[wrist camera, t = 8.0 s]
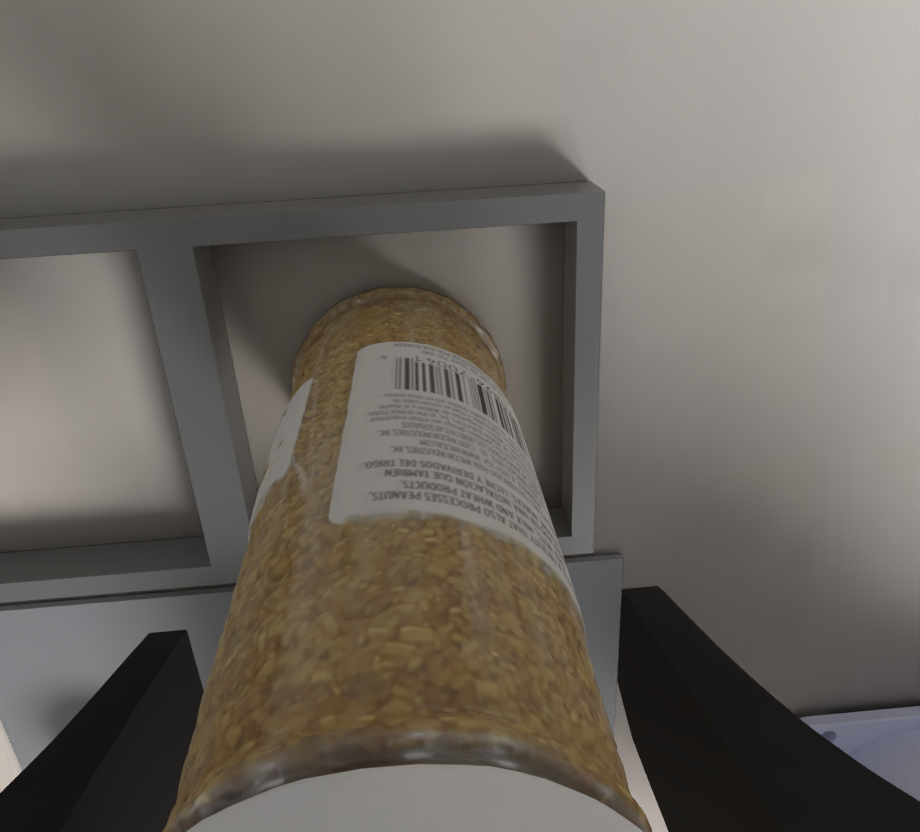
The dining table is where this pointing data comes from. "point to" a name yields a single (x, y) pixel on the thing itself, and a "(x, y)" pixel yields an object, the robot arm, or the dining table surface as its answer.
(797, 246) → the dining table surface
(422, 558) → the spice jar
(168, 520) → the dining table surface
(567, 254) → the socket frames
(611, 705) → the board
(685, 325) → the dining table surface
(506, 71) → the dining table surface
